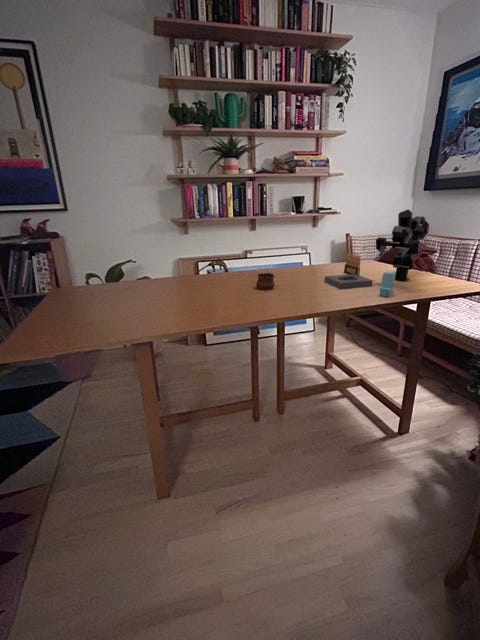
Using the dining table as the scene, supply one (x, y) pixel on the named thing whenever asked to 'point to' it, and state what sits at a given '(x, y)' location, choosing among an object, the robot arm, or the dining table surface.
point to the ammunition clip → (352, 264)
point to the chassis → (348, 281)
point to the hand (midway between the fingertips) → (390, 256)
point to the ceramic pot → (265, 281)
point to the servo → (387, 283)
